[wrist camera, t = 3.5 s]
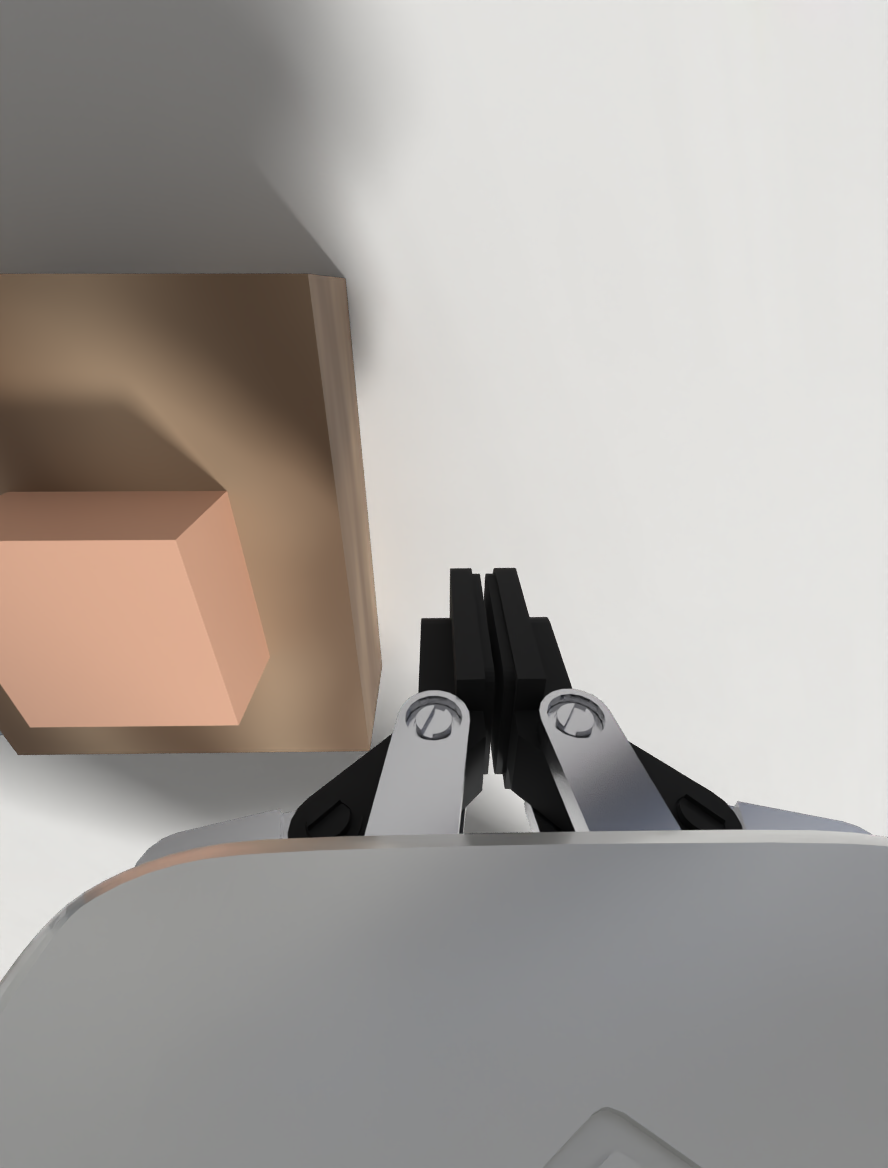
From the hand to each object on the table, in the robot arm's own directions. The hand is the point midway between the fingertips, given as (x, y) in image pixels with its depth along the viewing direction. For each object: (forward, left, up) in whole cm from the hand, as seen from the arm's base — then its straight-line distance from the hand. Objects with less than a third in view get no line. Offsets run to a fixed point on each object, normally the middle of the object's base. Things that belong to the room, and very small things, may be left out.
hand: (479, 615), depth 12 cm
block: (+10, 0, -2) cm, 10 cm away
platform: (+11, 0, -7) cm, 13 cm away
